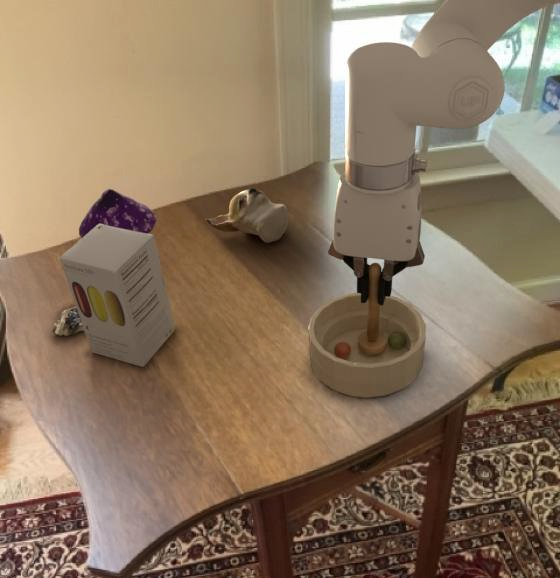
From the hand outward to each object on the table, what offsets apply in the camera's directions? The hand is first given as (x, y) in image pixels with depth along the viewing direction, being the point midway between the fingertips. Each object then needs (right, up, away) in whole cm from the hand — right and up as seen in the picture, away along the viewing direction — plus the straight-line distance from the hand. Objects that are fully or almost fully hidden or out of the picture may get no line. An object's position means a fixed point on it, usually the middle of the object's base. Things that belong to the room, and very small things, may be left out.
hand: (373, 297), depth 86 cm
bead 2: (+4, -5, +6) cm, 9 cm away
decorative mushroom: (-38, +7, +26) cm, 46 cm away
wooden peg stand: (+1, -6, +6) cm, 9 cm away
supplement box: (-34, -5, +12) cm, 37 cm away
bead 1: (-4, -7, +5) cm, 9 cm away
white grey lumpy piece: (-44, -2, +16) cm, 47 cm away
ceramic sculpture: (-17, +15, +32) cm, 39 cm away
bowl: (0, -8, +6) cm, 10 cm away
